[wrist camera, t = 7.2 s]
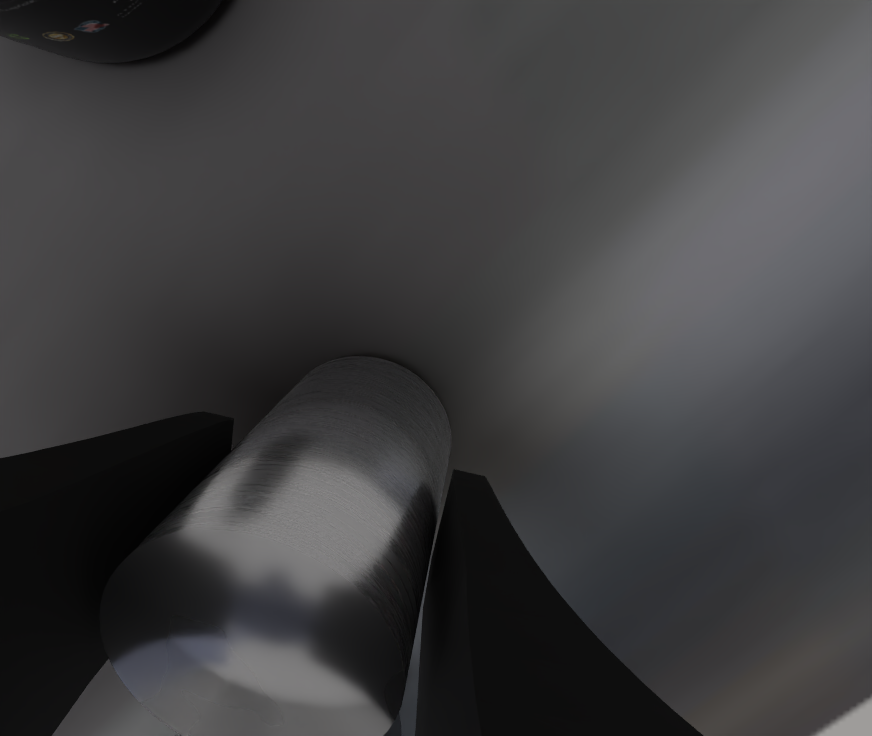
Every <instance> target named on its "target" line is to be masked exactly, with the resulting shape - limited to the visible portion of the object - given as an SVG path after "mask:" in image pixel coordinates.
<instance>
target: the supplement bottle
mask: <svg viewBox="0 0 872 736" xmlns="http://www.w3.org/2000/svg"><path fill="white" fill-rule="evenodd" d="M221 2H222V0H0V36H2V37H5V38H8V39H11V40H14V41H17V42H20V43H24V44H27V45H30V46H33V47H36V48H39V49H42V50H46V51H49V52H52V53H55V54H58V55H62V56H65V57H69V58H74V59H78V60H84V61H89V62H99V63H120V62H129V61H135V60H141V59H144V58H148V57H151V56H154V55H157V54H159V53H162V52H164V51H166V50H168V49H170V48H172V47H174V46H175V45H177V44H179V43H180V42H182V41H184V40H185V39H186V38H187V37H189V36H190V35H191V34H193V33H194V32H195V31H196V30H197V29H198V28H199V27H201V26H202V25H203V24H204V23H205V22H206V21H207V20H208V19H209V17H210V16H211V15H212V14H213V13H214V11H215V10H216V9H217V8H218V6H219V5H220V3H221Z"/></svg>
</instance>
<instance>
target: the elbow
mask: <svg viewBox="0 0 872 736" xmlns="http://www.w3.org/2000/svg"><path fill="white" fill-rule="evenodd" d="M450 451H451V428H450V424H449V420H448V417H447V414H446V412H445V409H444V407H443V406H442V404H441V402H440V400H439V398H438V397H437V396H436V394H435V393H434V392H433V390H432V389H431V388H430V387H429V386H428V385H427V384H426V383H425V382H424V381H423V380H422V379H420V378H419V377H418V376H417V375H416V374H414V373H412V372H411V371H409V370H408V369H406V368H404V367H402V366H400V365H398V364H396V363H394V362H391V361H388V360H385V359H381V358H376V357H370V356H348V357H342V358H337V359H334V360H331V361H328V362H326V363H324V364H322V365H320V366H318V367H316V368H315V369H313V370H312V371H310V372H309V373H308V374H307V375H306V376H305V377H304V378H303V379H302V380H301V381H300V382H299V383H298V384H297V385H296V386H295V387H294V388H293V389H292V390H291V391H290V392H289V393H288V394H287V395H286V396H285V397H284V398H283V399H282V400H281V401H280V402H279V403H278V404H277V405H276V406H275V407H274V408H273V409H272V410H271V411H270V412H269V413H268V414H267V415H266V416H265V417H264V418H263V419H262V420H261V421H260V422H259V423H258V424H257V425H256V426H255V427H254V428H253V429H252V430H251V431H250V432H249V433H248V434H247V436H246V437H245V438H244V439H243V440H242V441H241V442H240V443H239V444H238V445H237V446H236V447H235V448H234V449H233V450H232V451H231V452H230V453H229V454H228V455H227V456H226V457H225V458H224V459H223V460H222V461H221V462H220V463H219V464H218V465H217V466H216V467H215V468H214V469H213V470H212V471H211V472H210V473H209V474H208V475H207V476H206V477H205V478H204V479H203V480H202V481H201V482H200V483H199V484H198V485H197V486H196V487H195V488H194V489H193V490H192V491H191V492H190V493H189V495H188V496H187V497H186V498H185V499H184V500H183V501H182V502H181V503H180V504H179V505H178V506H177V507H176V508H175V509H174V510H173V511H172V512H171V513H170V514H169V515H168V516H167V517H166V518H165V519H164V520H163V521H162V522H161V523H160V524H159V525H158V526H157V527H156V528H155V529H154V530H153V531H152V532H151V533H150V534H149V535H148V536H147V537H146V538H145V539H144V540H143V541H142V542H141V543H140V544H139V545H138V546H137V547H136V548H135V549H134V550H133V551H132V552H131V553H130V555H129V556H128V557H127V558H126V559H125V560H124V561H123V562H122V563H121V564H120V565H119V566H118V567H117V569H116V570H115V571H114V573H113V574H112V575H111V577H110V578H109V580H108V582H107V585H106V587H105V589H104V591H103V595H102V599H101V603H100V614H99V621H100V631H101V636H102V640H103V644H104V647H105V650H106V652H107V655H108V657H109V660H110V662H111V664H112V666H113V667H114V669H115V671H116V673H117V674H118V676H119V678H120V679H121V680H122V682H123V683H124V684H125V686H126V687H127V689H128V690H129V691H130V692H131V693H132V694H133V696H134V697H135V698H136V699H137V700H138V701H139V702H140V703H141V704H142V705H143V706H144V707H145V708H146V709H147V710H148V711H149V712H151V713H152V714H153V715H154V716H155V717H156V718H158V719H159V720H160V721H162V722H163V723H164V724H166V725H167V726H168V727H170V728H171V729H173V730H174V731H176V732H177V733H179V734H181V735H182V736H383V735H384V734H385V733H386V732H387V731H388V730H389V728H390V727H391V725H392V724H393V722H394V721H395V720H396V717H397V715H398V713H399V710H400V708H401V705H402V700H403V695H404V690H405V685H406V680H407V675H408V670H409V664H410V659H411V654H412V649H413V644H414V638H415V633H416V628H417V623H418V618H419V612H420V607H421V602H422V597H423V592H424V586H425V581H426V576H427V571H428V566H429V561H430V555H431V550H432V545H433V540H434V535H435V529H436V524H437V519H438V514H439V509H440V503H441V498H442V493H443V488H444V483H445V477H446V472H447V467H448V462H449V457H450Z"/></svg>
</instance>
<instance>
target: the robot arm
mask: <svg viewBox="0 0 872 736" xmlns="http://www.w3.org/2000/svg"><path fill="white" fill-rule="evenodd" d="M233 423H234V419H233V418H229V417H225V416H220V415H216V414H212V413H207V412H196V413H190V414H185V415H180V416H176V417H172V418H168V419H164V420H160V421H156V422H152V423H148V424H144V425H140V426H137V427H133V428H129V429H125V430H121V431H117V432H114V433H110V434H106V435H102V436H98V437H94V438H90V439H86V440H81V441H77V442H73V443H68V444H64V445H60V446H55V447H51V448H47V449H42V450H38V451H34V452H29V453H25V454H20V455H15V456H10V457H5V458H0V736H52V734H53V733H54V732H55V730H56V729H57V727H58V726H59V725H60V723H61V722H62V720H63V719H64V718H65V716H66V715H67V713H68V712H69V710H70V709H71V708H72V706H73V705H74V703H75V702H76V701H77V699H78V698H79V696H80V695H81V694H82V692H83V691H84V689H85V688H86V686H87V685H88V684H89V682H90V681H91V680H92V679H93V677H94V676H95V675H96V674H97V672H98V671H99V670H100V669H101V667H102V666H103V665H104V663H105V662H106V661H107V660H108V658H109V657H108V655H107V652H106V650H105V647H104V644H103V640H102V636H101V631H100V621H99V614H100V603H101V599H102V595H103V591H104V589H105V587H106V585H107V582H108V580H109V578H110V577H111V575H112V574H113V573H114V571H115V570H116V569H117V567H118V566H119V565H120V564H121V563H122V562H123V561H124V560H125V559H126V558H127V557H128V556H129V555H130V553H131V552H132V551H133V550H134V549H135V548H136V547H137V546H138V545H139V544H140V543H141V542H142V541H143V540H144V539H145V538H146V537H147V536H148V535H149V534H150V533H151V532H152V531H153V530H154V529H155V528H156V527H157V526H158V525H159V524H160V523H161V522H162V521H163V520H164V519H165V518H166V517H167V516H168V515H169V514H170V513H171V512H172V511H173V510H174V509H175V508H176V507H177V506H178V505H179V504H180V503H181V502H182V501H183V500H184V499H185V498H186V497H187V496H188V495H189V493H190V492H191V491H192V490H193V489H194V488H195V487H196V486H197V485H198V484H199V483H200V482H201V481H202V480H203V479H204V478H205V477H206V476H207V475H208V474H209V473H210V472H211V471H212V470H213V469H214V468H215V467H216V466H217V465H218V464H219V463H220V462H221V461H222V460H223V459H224V458H225V457H226V456H227V455H228V454H229V453H230V452H231V444H232V433H233ZM415 736H703V735H702V734H701V733H700V732H698V731H697V730H696V729H695V728H694V727H692V726H691V725H690V724H689V723H688V722H687V721H685V720H684V719H683V718H682V717H681V716H679V715H678V714H677V713H676V712H675V711H673V710H672V709H671V708H670V707H669V706H668V705H667V704H666V703H665V702H663V701H662V700H661V699H660V698H659V697H658V696H657V695H656V694H655V693H654V692H652V691H651V690H650V689H649V688H648V687H647V686H646V685H645V684H644V683H643V682H642V681H640V680H639V679H638V678H637V677H636V676H635V675H634V674H633V673H632V672H631V671H630V670H629V669H628V668H627V667H626V666H625V665H624V664H623V663H622V662H621V661H620V660H619V659H618V658H617V657H616V656H615V655H614V654H613V653H612V652H611V651H610V650H609V649H608V648H607V647H606V646H605V645H604V644H603V643H602V642H601V641H600V640H599V639H598V638H597V637H596V635H595V634H594V633H593V632H592V631H591V630H590V629H589V628H588V627H587V626H586V625H585V623H584V622H583V621H582V620H581V619H580V618H579V616H578V615H577V614H576V613H575V612H574V611H573V609H572V608H571V607H570V606H569V605H568V604H567V602H566V601H565V600H564V599H563V598H562V597H561V595H560V594H559V593H558V592H557V590H556V589H555V588H554V587H553V585H552V584H551V583H550V581H549V580H548V579H547V577H546V576H545V575H544V573H543V572H542V570H541V569H540V568H539V566H538V565H537V563H536V562H535V561H534V559H533V558H532V556H531V555H530V554H529V552H528V551H527V549H526V547H525V546H524V544H523V542H522V541H521V539H520V538H519V536H518V534H517V533H516V531H515V530H514V528H513V526H512V525H511V523H510V521H509V519H508V518H507V516H506V514H505V512H504V510H503V509H502V507H501V505H500V503H499V501H498V499H497V497H496V495H495V494H494V492H493V490H492V488H491V486H490V484H489V482H488V481H487V479H486V477H485V476H481V475H476V474H472V473H468V472H463V471H459V470H455V469H454V470H453V474H452V478H451V482H450V486H449V490H448V494H447V498H446V502H445V506H444V510H443V514H442V518H441V522H440V526H439V531H438V535H437V539H436V543H435V547H434V551H433V555H432V559H431V565H430V571H429V577H428V582H427V588H426V594H425V600H424V606H423V619H422V634H421V650H420V667H419V683H418V699H417V716H416V732H415Z"/></svg>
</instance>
